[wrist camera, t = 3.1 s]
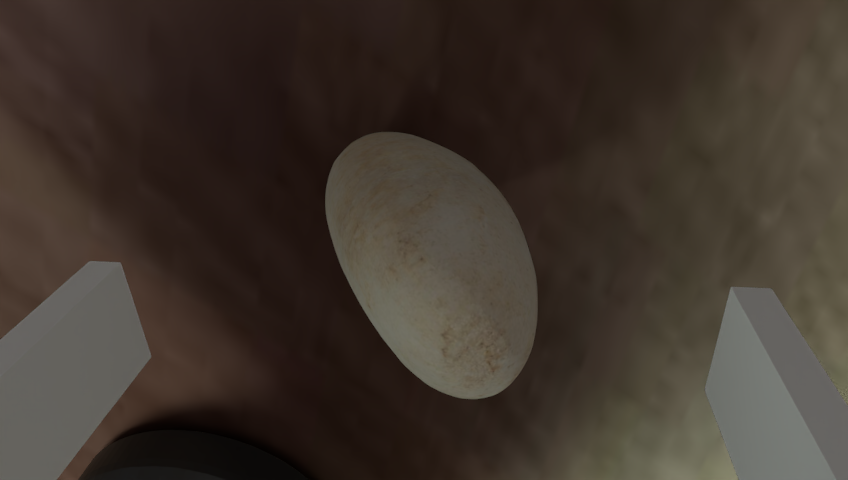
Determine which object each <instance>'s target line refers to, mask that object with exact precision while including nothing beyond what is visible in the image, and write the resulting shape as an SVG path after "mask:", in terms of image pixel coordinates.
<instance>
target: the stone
mask: <svg viewBox="0 0 848 480" xmlns="http://www.w3.org/2000/svg"><path fill="white" fill-rule="evenodd" d="M325 210H326V217H327V223H328V227H329V231H330V235H331V238H332V241H333V245H334V248H335V251H336V254H337V257H338V259H339V262H340V265H341V267H342V269H343V272H344V274H345V276H346V278H347V280H348V282H349V284H350V286H351V288H352V290H353V292H354V294H355V296H356V298H357V299H358V301H359V303H360V305H361V306H362V308H363V310H364V311H365V313H366V315H367V316H368V318H369V319H370V321H371V323H372V324H373V325H374V327H375V328H376V330H377V331H378V333H379V334H380V336H381V337H382V338H383V340H384V341H385V342H386V343H387V345H388V346H389V347H390V348H391V350H392V351H393V352H394V353H395V355H396V356H397V357H398V358H399V360H400V361H401V362H402V363H403V364H404V365H405V366H406V367H407V368H408V369H409V370H410V371H411V372H412V373H413V374H415V375H416V376H417V377H418V378H420V379H421V380H422V381H423V382H425V383H426V384H427V385H429V386H430V387H432V388H434V389H436V390H438V391H440V392H443V393H445V394H448V395H451V396H454V397H458V398H463V399H480V398H486V397H490V396H493V395H496V394H498V393H499V392H501V391H503V390H504V389H505V388H507V387H508V386H509V385H510V384H511V383H512V382H513V381H514V380H515V378H516V377H517V376H518V375H519V373H520V372H521V370H522V369H523V367H524V365H525V363H526V361H527V359H528V357H529V355H530V353H531V350H532V347H533V343H534V338H535V332H536V326H537V313H538V295H537V281H536V274H535V269H534V265H533V262H532V258H531V255H530V252H529V248H528V245H527V242H526V239H525V236H524V234H523V231H522V229H521V226H520V224H519V222H518V220H517V218H516V216H515V214H514V212H513V210H512V209H511V207H510V205H509V204H508V202H507V201H506V199H505V198H504V196H503V195H502V193H501V192H500V191H499V190H498V189H497V187H496V186H495V185H494V184H493V183H492V182H491V181H490V180H489V179H488V178H487V177H486V176H485V175H484V174H483V173H482V172H481V171H480V170H479V169H478V168H477V167H476V166H474V165H473V164H472V163H471V162H469V161H468V160H466V159H465V158H463V157H461V156H460V155H458V154H456V153H454V152H453V151H451V150H449V149H447V148H444V147H442V146H440V145H438V144H436V143H433V142H431V141H428V140H426V139H423V138H420V137H418V136H414V135H411V134H406V133H399V132H378V133H372V134H369V135H366V136H363V137H361V138H359V139H357V140H356V141H354V142H352V143H351V144H350V145H349V146H347V147H346V148H345V150H344V151H343V152H342V153H341V154H340V155H339V156H338V157H337V159H336V160H335V162H334V164H333V166H332V168H331V171H330V174H329V177H328V182H327V186H326V194H325Z"/></svg>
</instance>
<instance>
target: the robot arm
mask: <svg viewBox="0 0 848 480" xmlns="http://www.w3.org/2000/svg"><path fill="white" fill-rule="evenodd" d="M150 358H151V354H150V351H149V348H148V344H147V341H146V338H145V335H144V332H143V329H142V326H141V323H140V320H139V317H138V314H137V311H136V308H135V305H134V301H133V298H132V295H131V292H130V289H129V286H128V283H127V280H126V277H125V274H124V271H123V268H122V265H121V262H98V261H89V262H88V263H87V264H86V265H85V266H84V267H82V268H81V269H80V270H79V271H78V272H77V273H76V274H74V275H73V276H72V277H71V278H70V279H69V280H68V281H66V282H65V283H64V284H63V285H62V286H61V287H60V288H58V289H57V290H56V291H55V292H54V293H53V294H52V295H51V296H49V297H48V298H47V299H46V300H45V301H44V302H43V303H41V304H40V305H39V306H38V307H37V308H36V309H35V310H33V311H32V312H31V313H30V314H29V315H28V316H27V317H26V318H24V319H23V320H22V321H21V322H20V323H19V324H18V325H16V326H15V327H14V328H13V329H12V330H11V331H10V332H8V333H7V334H6V335H5V336H4V337H3V338H2V339H1V340H0V480H57V478H58V477H59V476H60V474H61V473H62V472H63V471H64V469H65V468H66V467H67V465H68V464H69V463H70V462H71V460H72V459H73V458H74V456H75V455H76V454H77V452H78V451H79V450H80V449H81V447H82V446H83V445H84V443H85V442H86V441H87V440H88V438H89V437H90V436H91V434H92V433H93V432H94V430H95V429H96V428H97V427H98V425H99V424H100V423H101V421H102V420H103V419H104V418H105V416H106V415H107V414H108V412H109V411H110V410H111V408H112V407H113V406H114V405H115V403H116V402H117V401H118V399H119V398H120V397H121V396H122V394H123V393H124V392H125V390H126V389H127V388H128V386H129V385H130V384H131V383H132V381H133V380H134V379H135V377H136V376H137V375H138V374H139V372H140V371H141V370H142V368H143V367H144V366H145V364H146V363H147V362H148V361H149V359H150ZM705 393H706V395H707V398H708V400H709V403H710V406H711V408H712V411H713V414H714V416H715V419H716V421H717V424H718V427H719V429H720V432H721V434H722V437H723V440H724V442H725V445H726V448H727V450H728V453H729V455H730V458H731V461H732V463H733V466H734V469H735V471H736V474H737V476H738V479H739V480H848V406H847V404H846V403H845V401H844V399H843V398H842V396H841V395H840V393H839V392H838V390H837V389H836V387H835V386H834V384H833V382H832V381H831V379H830V378H829V376H828V375H827V373H826V372H825V370H824V369H823V367H822V365H821V364H820V362H819V361H818V359H817V358H816V356H815V355H814V353H813V352H812V350H811V348H810V347H809V345H808V344H807V342H806V341H805V339H804V338H803V336H802V335H801V333H800V331H799V330H798V328H797V327H796V325H795V324H794V322H793V321H792V319H791V318H790V316H789V314H788V313H787V311H786V310H785V308H784V307H783V305H782V304H781V302H780V301H779V299H778V297H777V296H776V294H775V293H774V291H773V290H772V288H751V287H731V288H730V292H729V296H728V300H727V304H726V308H725V312H724V316H723V320H722V323H721V327H720V331H719V335H718V339H717V343H716V347H715V351H714V355H713V359H712V363H711V366H710V370H709V374H708V378H707V382H706V386H705ZM78 480H309V479H308V478H306V477H305V476H304V475H303V474H301V473H300V472H299V471H297V470H296V469H294V468H293V467H291V466H290V465H288V464H287V463H285V462H284V461H282V460H280V459H278V458H277V457H275V456H273V455H271V454H269V453H267V452H265V451H263V450H261V449H258V448H256V447H254V446H251V445H249V444H246V443H243V442H240V441H237V440H234V439H231V438H227V437H223V436H219V435H215V434H210V433H204V432H198V431H188V430H157V431H149V432H143V433H138V434H134V435H131V436H128V437H125V438H122V439H120V440H118V441H116V442H114V443H112V444H110V445H109V446H107V447H106V448H104V449H103V450H102V451H101V452H99V453H98V454H97V455H96V456H95V458H94V459H93V460H92V461H91V463H90V464H89V465H88V467H87V468H86V470H85V471H84V472H83V474H82V475H81V477H80V478H79V479H78Z"/></svg>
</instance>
